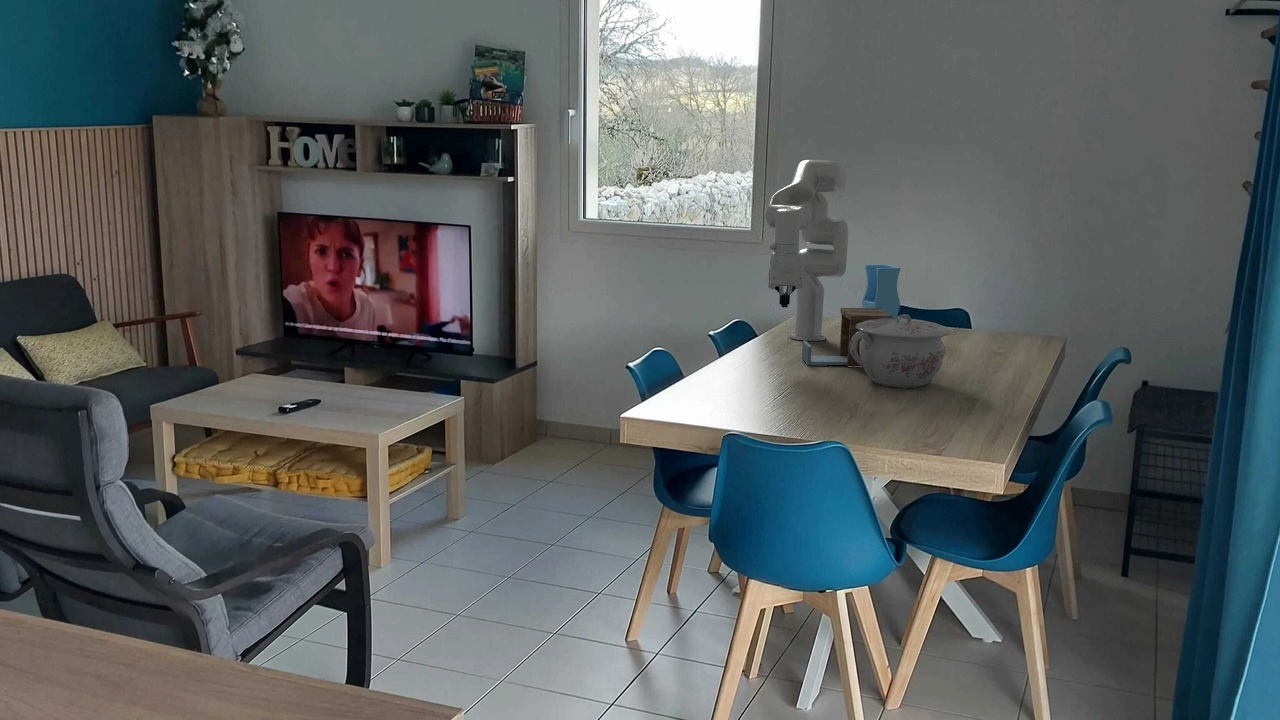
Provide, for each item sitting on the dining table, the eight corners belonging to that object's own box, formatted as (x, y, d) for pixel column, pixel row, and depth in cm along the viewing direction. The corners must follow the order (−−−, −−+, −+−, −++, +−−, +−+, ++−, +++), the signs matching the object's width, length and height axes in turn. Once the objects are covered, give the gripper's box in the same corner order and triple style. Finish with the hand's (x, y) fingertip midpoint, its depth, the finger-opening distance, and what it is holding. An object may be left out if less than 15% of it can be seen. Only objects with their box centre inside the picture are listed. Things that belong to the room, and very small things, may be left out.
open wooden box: (837, 358, 370) (840, 307, 367) (877, 358, 371) (880, 308, 367) (847, 367, 356) (851, 315, 353) (888, 368, 357) (892, 315, 354)
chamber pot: (947, 377, 347) (953, 309, 343) (946, 397, 321) (952, 325, 317) (854, 369, 354) (858, 303, 350) (845, 389, 328) (849, 318, 324)
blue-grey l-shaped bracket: (801, 359, 367) (802, 340, 366) (872, 359, 368) (873, 341, 367) (807, 365, 358) (808, 346, 357) (879, 365, 360) (881, 347, 358)
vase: (859, 333, 414) (864, 264, 409) (884, 332, 417) (888, 264, 411) (873, 338, 405) (877, 268, 399) (897, 337, 408) (902, 267, 402)
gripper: (764, 250, 350) (762, 309, 355) (812, 250, 351) (810, 309, 356) (760, 247, 358) (758, 304, 362) (807, 246, 359) (805, 304, 363)
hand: (784, 306), depth 359 cm, fingers closed
